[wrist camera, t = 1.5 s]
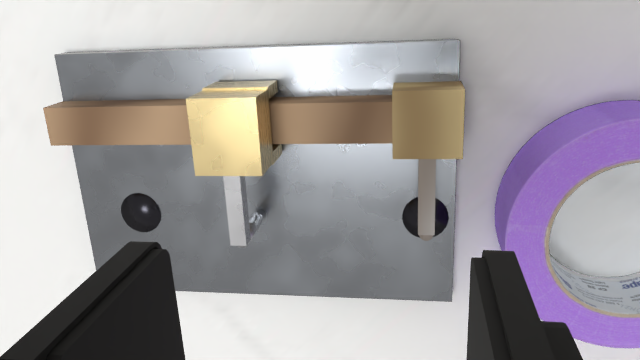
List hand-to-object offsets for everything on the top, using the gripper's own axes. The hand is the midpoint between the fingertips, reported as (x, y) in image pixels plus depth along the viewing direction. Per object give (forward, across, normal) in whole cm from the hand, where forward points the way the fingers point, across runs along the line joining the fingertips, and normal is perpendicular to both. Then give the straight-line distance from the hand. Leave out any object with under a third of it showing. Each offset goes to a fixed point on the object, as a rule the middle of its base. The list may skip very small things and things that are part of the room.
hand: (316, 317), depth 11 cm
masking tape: (+20, -12, +6) cm, 24 cm away
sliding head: (+18, +7, +2) cm, 19 cm away
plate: (+20, +6, +4) cm, 21 cm away
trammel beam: (+19, +6, +2) cm, 20 cm away
